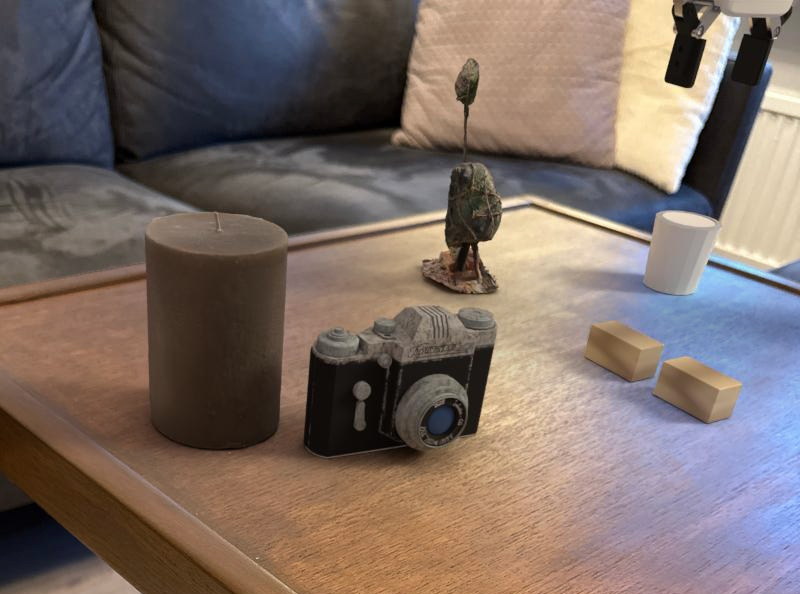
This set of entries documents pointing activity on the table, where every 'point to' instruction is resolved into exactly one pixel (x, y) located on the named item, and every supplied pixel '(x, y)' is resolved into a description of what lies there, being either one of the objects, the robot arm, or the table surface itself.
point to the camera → (399, 382)
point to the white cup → (679, 251)
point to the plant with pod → (467, 211)
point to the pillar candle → (215, 327)
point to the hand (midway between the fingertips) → (711, 84)
